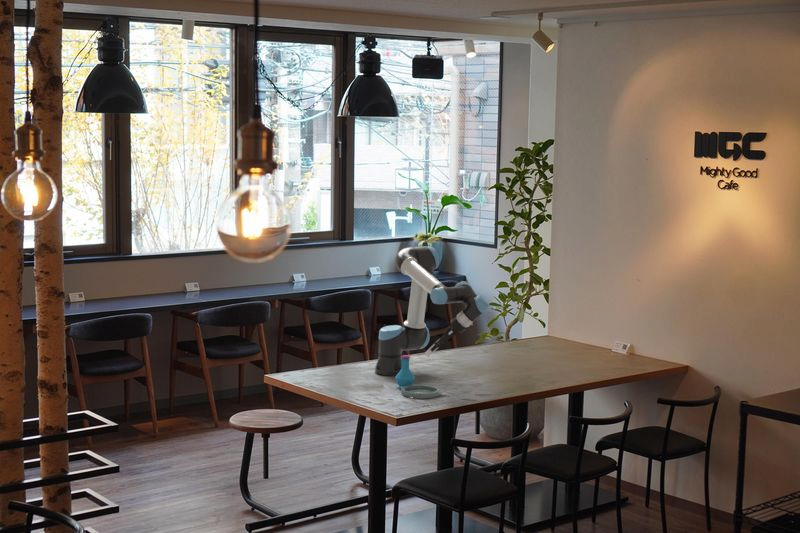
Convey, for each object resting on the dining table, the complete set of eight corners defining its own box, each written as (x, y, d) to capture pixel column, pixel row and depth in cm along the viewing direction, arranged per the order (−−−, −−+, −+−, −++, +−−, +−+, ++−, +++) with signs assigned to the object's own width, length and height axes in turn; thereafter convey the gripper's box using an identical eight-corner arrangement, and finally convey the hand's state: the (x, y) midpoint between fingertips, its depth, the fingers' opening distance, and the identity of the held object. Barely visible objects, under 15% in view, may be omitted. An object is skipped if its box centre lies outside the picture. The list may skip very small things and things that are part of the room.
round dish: (398, 397, 469) (398, 392, 468) (406, 388, 486) (406, 383, 485) (435, 399, 465) (435, 394, 465) (442, 391, 482) (442, 386, 482)
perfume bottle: (408, 390, 483) (408, 358, 481) (391, 387, 488) (392, 356, 486) (418, 386, 490) (418, 355, 489) (401, 383, 495) (402, 353, 494)
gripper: (462, 332, 468) (429, 363, 472) (470, 323, 492) (439, 353, 497) (451, 320, 468) (418, 351, 473) (460, 312, 492) (428, 341, 497)
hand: (429, 352), depth 485 cm, fingers open, 13 cm apart
